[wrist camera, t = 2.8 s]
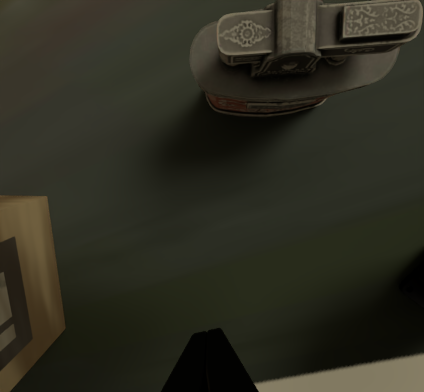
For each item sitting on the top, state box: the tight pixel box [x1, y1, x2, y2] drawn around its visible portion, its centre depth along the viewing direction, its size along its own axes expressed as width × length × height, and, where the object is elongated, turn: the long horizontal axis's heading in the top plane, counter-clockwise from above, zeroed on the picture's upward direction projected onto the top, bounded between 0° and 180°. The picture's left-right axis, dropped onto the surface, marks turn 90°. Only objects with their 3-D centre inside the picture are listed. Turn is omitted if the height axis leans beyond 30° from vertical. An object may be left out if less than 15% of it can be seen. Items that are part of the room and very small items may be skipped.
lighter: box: [190, 0, 423, 117], centre depth 12 cm, size 8×3×10 cm, turn 93°
